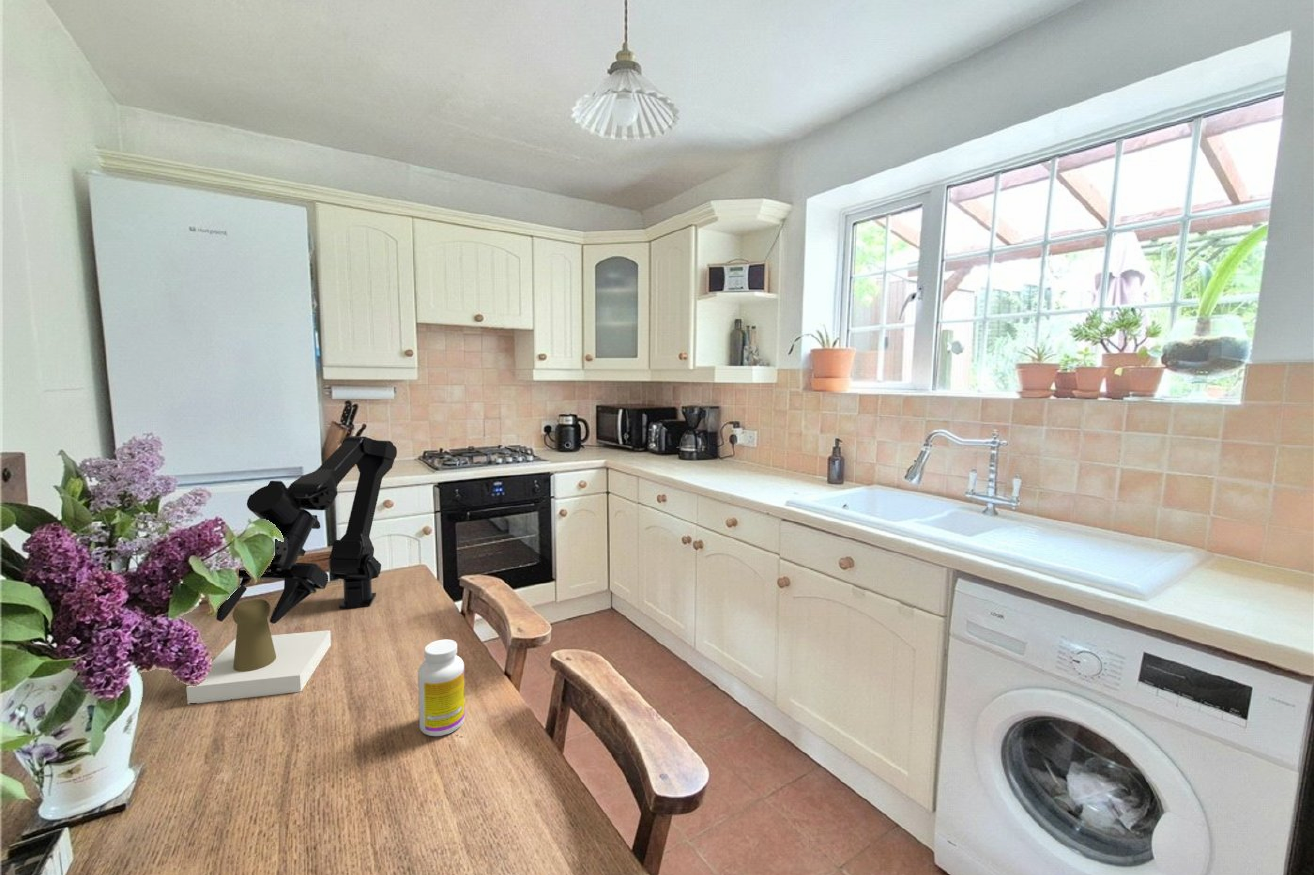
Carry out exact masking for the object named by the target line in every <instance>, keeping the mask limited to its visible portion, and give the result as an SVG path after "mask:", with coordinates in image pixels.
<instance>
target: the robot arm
mask: <svg viewBox="0 0 1314 875" xmlns="http://www.w3.org/2000/svg"><path fill="white" fill-rule="evenodd" d="M397 454H398V450H397V447H396V446H395V445H394V444H393V442H392V441H391V440H379V439H373V438H370V437H367V436H360V435H359V436H357V435H356V436H355V435H348V436H346V437H344V438H343V440H342V443H341V444H340V445H339V447H337V449H336V450H335V451H333V453H331V455H330V456H328V458H327V459H326V460H325V461H324V462H323V463H322V464H321V465H320V466H319V467H318V468H316V470H314V471H312V472H308V473H307V474H304V475H301V476H300V477H299V478H297V479H295V481H293V482H292V483H290V485H289V486H286V484H285V483H284V482H283V481H281V480H270V481H269V483H268V484H267V485H265V486H262V487H259V488H258V489H256V491H254V492H253V493H251V494H250V495H249V496H248V498H247V502H246V507H247V509H248V510H249V511H250V512H252V513H253V514H254V515H255V516H256V517H257V518H259V519H260V520H261V519H266V520H269V521H270V522H272V523H273V524H275V525H276V527H277V528H278V529H279V530H280V531H281V533H282V535H283V538H284V542H281V541H278V540H277V539H275V556H274V558H273V560H272V562H271V564H270V566H268V568H267V569H266V570H265V572H264V574H263V575H262V576H261V577H260V579H259V580H269V581H270V580H274V581H284V582H283V583H284V584H283V586H284V587H283V591H282V592H281V594H280V597H279V600H278V601H277V603H276V605H275V607H274V609H273V611H272V614H271V617H270V619H269V623H271V624H272V625H274V624H277V623H278V622H279V621H280V620H281V619H282V618H284V616H286V615H287V613H289V612H290V611H291V610H292V609H293V608H295V607H296V606H297V605H298V604H299V603H301V602H302V601H303V600H305V599H306V598H307V597H308V596H309V595H312V594H316V593H317V590H325V589H326V587H327V585H328V583H329V575H328V573H327V572H326V571H325V570H324V569H322V568H321V567H320V566H319V565H318V564H317V563H316V562H315V563H312V562H297V560H298V558H299V557H304V556H305V554H306V553H307V551H306V550H305V549H304V546H305V544H306V542H307V539H308V538H309V536H310V533H311V531H312V530H314V529H315V530H320V528H321V523H320V521H319V519H318V515H317V514H311V512H310V511H325V510H328V509H329V508H330V507H331V505H332V504H333V502H334V501H335V499H336V497H338V493H339V492H338V486H339V485H340V483H341V481H342V480H344V478H345V477H346V476H348V475H347V474H349V473H350V471H351V470H352V469H353V468H354V467H357V470H358V472H359V475H358V480H357V484H356V489H355V493H354V497H353V501H352V507H351V510H350V514H349V518H348V523H347V527H346V529H345V530H346V531H345V534H344V535H343V536H342V537H341V538H340V539H335V540H334V542H333V543H332V546H331V553H330V554H329V557H328V566H329V569H330V573H331V576H332V578H333V580H343V581H342V583H343V599H342V601H341V602H340V603H339V605H338V608H339V609H347V608H357V607H358V608H359V607H360V608H361V607H369V606H370V607H371V605H372V604H373V602H374V601H375V598H376V596H377V592H373V591H372V590H373V589H372V580H373V579H377V578H379V575H380V574H381V572H382V571H381V570H382V564H381V563H380V562H379V561H378V560H377V558H375V556H374V552H375V548H374V544H373V543H372V540H371V538H370V534H371V530H372V526H373V522H374V521H373V520H374V518H375V512H376V508H377V502H378V499H379V495H380V489H381V484H382V481H383V478H384V476H386V474H388V472H389V471H390V470H391V469H392V468H393V465H394V462H395V460H396V458H397ZM239 579H240V585H241V587H240V588H238V589H237V590H236V591H235V592H234V593H233V594H232V595H231V596H230V598H229V599H228V600H226V601H225V602H224V603H223V604H222V605H221V606H220V608H219V609H218V608H217V610H218V611H217V612H216V618H215V619H216V621H218V622H221V623H222V622H224V620H225V619H226V618H227V617H228V616H229V614H230V613H231V612H232V610H234V608H235V607H236V606H237V603H238V602H239V600H241V598H242V597H243V595H244V594H245V592H246V591H247V589H248V588H247V587H246V585H248V584H249V583H250V581H251V580H253V579H252V578H251V577H250V576H249V575H248V574H247V573H246V571H245V569H244V568H240V569H239Z"/></svg>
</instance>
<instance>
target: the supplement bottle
mask: <svg viewBox="0 0 1314 875" xmlns="http://www.w3.org/2000/svg"><path fill="white" fill-rule="evenodd" d="M457 653H458V643H457V642H456V641H455V640H453V639H446V638H445V639H440V640H437V639H436V640H435V641H432V642H430V643H428V644H427V645H426V646H425V647H424V656H423V657H424V659H425V660H424V661H423V662H422V663H421V664H420V666H419V668H418V671H417V681H418V683H417V684H418V685H417V686H418V719H419V720H418V722H419V724H418V725H419V729H420V731H421V732H422V733H423V734H425V735H427V736H428V737H429V736H430V737H443V736H447V735H448V734H451V733H453V732H455V731H456V730H458V729H459V728H460V727H461V726H462V725H463V723H464V721H465V719H466V718H465V717H466V702H465V701H466V700H465V699H466V698H465V697H466V696H465V695H466V694H465V688H466V687H465V686H466V685H465V662H464V661H463V659H462V657H460V656H459V655H457Z"/></svg>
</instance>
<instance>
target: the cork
mask: <svg viewBox="0 0 1314 875" xmlns="http://www.w3.org/2000/svg"><path fill="white" fill-rule="evenodd" d="M270 613H271V606H270V603H269V602H268V601H267V600H265V599H261V598H260V599H259V598H255V599H250V600H249V599H248V600H245V601H242V602H240V603H239V604H236V605H235V606H234V608H233V612H232V619H233V621H234V623H235V624H236V625H237V626H236V637H235V639H236V644H235V654H234V665H233V668H234V670H236V671H240V672H246V671H253V670H257V669H260V668H263V667H265V666H267V665H269V664H271V663H272V662H274V661H275V659H276V653H275V649H274V645H273V641H272V637H271V635H272V633H271V629H270V625H269V622H268V621H269V620H268V617H269V616H270Z"/></svg>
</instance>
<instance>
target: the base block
mask: <svg viewBox="0 0 1314 875" xmlns="http://www.w3.org/2000/svg"><path fill="white" fill-rule="evenodd" d="M271 637H272V641H273V645H274V649H275V653H276V659H275V661H274V662H272V663H271V664H269V665H267V666H265V667H263V668H260V669H257V670H253V671H246V672H240V671H236V670H234V668H233V665H234V654H235V644H236V638H234V639H233V640H232V641H231V642H230V643H229V644H228V645H227V646H226V647H225V648H224V649H223V650H221V652H220V653H218V655H217V656H216V657H215V658H214V659H213V660H212V661H211V662H212V668H211V671H210V673H209V674H208V675H207V677H206V678H205V680H204V681H203V682H202V683H200V684H199V685H197V686H188V685H187V686H186V689H185V690H186V697H187V699H186V700H187V704H188V703H197V704H206V703H212V702H221V701H230V700H231V699H232V700H238V699H239V700H240V699H248V698H257V697H265V696H275V695H285V694H290V693H291V694H292V693H300V692H302V690H304V688H305V686H306V684H307V683H308V681H309V680H310V679H311V677H312V676H313V674H314V672H315V670H316V669H317V667H318V666H319V664H320V662H321V661H322V659H323V658H324V656H326V653H327V651H328V650H329V649H330V647H331V645H332V637H331V630H330V629H329V630H317V631H306V632H293V633H284V634H273V635H272V634H271ZM232 700H231V701H232Z"/></svg>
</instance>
